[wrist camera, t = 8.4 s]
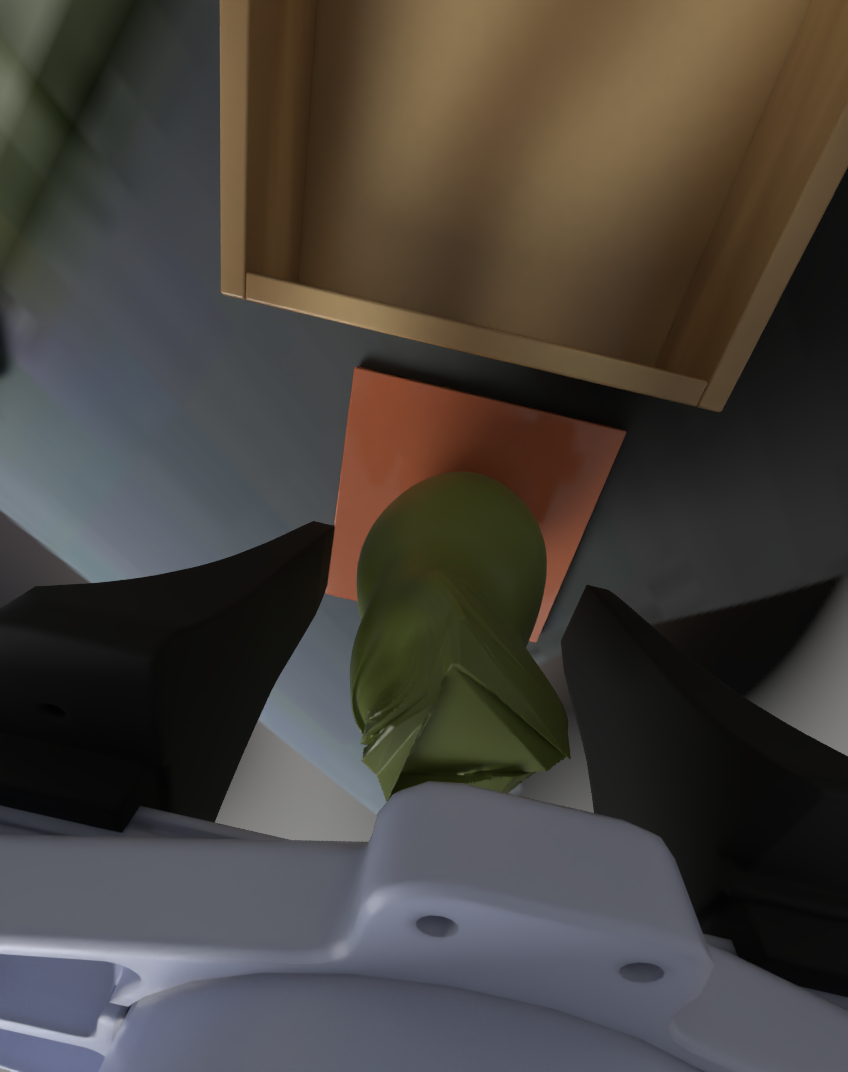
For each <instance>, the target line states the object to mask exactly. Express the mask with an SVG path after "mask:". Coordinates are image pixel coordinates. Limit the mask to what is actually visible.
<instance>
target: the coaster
mask: <svg viewBox="0 0 848 1072" xmlns="http://www.w3.org/2000/svg"><path fill="white" fill-rule="evenodd" d="M625 435H626V431H625V430H623V429H621V428H617V427H613V426H608V425H604V424H600V423H596V422H591V421H587V420H583V419H579V418H575V417H570V416H566V415H562V414H558V413H553V412H549V411H545V410H541V409H536V408H532V407H528V406H524V405H520V404H515V403H511V402H507V401H503V400H498V399H494V398H490V397H486V396H482V395H477V394H473V393H469V392H465V391H460V390H456V389H452V388H448V387H443V386H439V385H435V384H431V383H427V382H422V381H418V380H414V379H410V378H405V377H401V376H397V375H393V374H389V373H384V372H380V371H376V370H372V369H367V368H363V367H359V366H357V367H355V368H354V374H353V382H352V389H351V397H350V405H349V413H348V421H347V428H346V436H345V444H344V452H343V460H342V467H341V475H340V483H339V491H338V499H337V506H336V514H335V522H334V526H335V531H334V539H333V546H332V554H331V562H330V570H329V577H328V585H327V588H326V592H325V593H326V594H329V595H333V596H337V597H341V598H346V599H350V600H354V601H358V599H357V586H356V578H357V566H358V560H359V556H360V552H361V549H362V546H363V543H364V541H365V539H366V537H367V535H368V533H369V531H370V529H371V527H372V526H373V524H374V523H375V521H376V520H377V518H378V517H379V516H380V515H381V513H382V512H383V511H384V510H385V509H386V508H387V507H388V506H389V505H390V504H391V503H392V502H393V501H394V500H395V499H396V498H397V497H398V496H399V495H401V494H402V493H403V492H405V491H406V490H407V489H409V488H410V487H412V486H414V485H415V484H417V483H419V482H421V481H423V480H425V479H427V478H430V477H433V476H436V475H439V474H443V473H448V472H458V471H464V472H474V473H478V474H482V475H485V476H488V477H491V478H493V479H495V480H497V481H499V482H500V483H502V484H504V485H505V486H507V487H508V488H509V489H511V490H512V491H513V492H514V493H515V494H516V495H517V496H519V497H520V499H521V500H522V501H523V502H524V503H525V504H526V505H527V507H528V508H529V509H530V511H531V512H532V514H533V515H534V517H535V519H536V521H537V523H538V525H539V527H540V529H541V532H542V535H543V538H544V542H545V547H546V554H547V574H546V583H545V590H544V595H543V599H542V603H541V607H540V611H539V614H538V618H537V621H536V624H535V626H534V629H533V632H532V634H531V637H530V639H529V641H531V642H535V643H536V642H537V641H538V638H539V636H540V634H541V631H542V629H543V627H544V624H545V622H546V620H547V617H548V615H549V613H550V610H551V608H552V606H553V603H554V601H555V599H556V596H557V594H558V591H559V589H560V587H561V584H562V582H563V580H564V577H565V575H566V573H567V570H568V568H569V566H570V563H571V561H572V559H573V556H574V554H575V552H576V549H577V547H578V545H579V542H580V540H581V538H582V535H583V533H584V531H585V528H586V526H587V524H588V521H589V519H590V517H591V514H592V512H593V510H594V507H595V505H596V503H597V500H598V498H599V496H600V493H601V491H602V489H603V486H604V484H605V482H606V479H607V477H608V475H609V472H610V470H611V468H612V465H613V463H614V461H615V458H616V456H617V454H618V451H619V449H620V446H621V444H622V442H623V439H624V437H625Z"/></svg>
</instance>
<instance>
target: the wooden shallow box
mask: <svg viewBox="0 0 848 1072" xmlns="http://www.w3.org/2000/svg"><path fill="white" fill-rule="evenodd" d="M847 168H848V0H220V172H221V293H222V294H224V295H226V296H230V297H235V298H239V299H244V300H248V301H251V302H256V303H260V304H264V305H268V306H273V307H277V308H281V309H285V310H289V311H294V312H298V313H302V314H306V315H311V316H315V317H319V318H323V319H327V320H332V321H336V322H340V323H344V324H348V325H353V326H357V327H361V328H365V329H370V330H374V331H378V332H382V333H386V334H391V335H395V336H399V337H403V338H407V339H412V340H416V341H420V342H424V343H429V344H433V345H437V346H441V347H445V348H450V349H454V350H458V351H462V352H466V353H471V354H475V355H479V356H483V357H488V358H492V359H496V360H500V361H504V362H509V363H513V364H517V365H521V366H526V367H530V368H534V369H538V370H542V371H547V372H551V373H555V374H559V375H563V376H568V377H572V378H576V379H580V380H585V381H589V382H593V383H597V384H601V385H606V386H610V387H614V388H618V389H622V390H627V391H631V392H635V393H639V394H644V395H648V396H652V397H656V398H660V399H665V400H669V401H673V402H677V403H681V404H686V405H690V406H696V407H699V408H703V409H707V410H711V411H715V412H721V411H722V409H723V407H724V406H725V404H726V402H727V400H728V398H729V396H730V394H731V392H732V390H733V388H734V386H735V384H736V382H737V380H738V378H739V377H740V375H741V373H742V371H743V369H744V367H745V365H746V363H747V361H748V359H749V357H750V355H751V353H752V351H753V349H754V348H755V346H756V344H757V342H758V340H759V338H760V336H761V334H762V332H763V330H764V328H765V326H766V324H767V322H768V320H769V319H770V317H771V315H772V313H773V311H774V309H775V307H776V305H777V303H778V301H779V299H780V297H781V295H782V293H783V291H784V290H785V288H786V286H787V284H788V282H789V280H790V278H791V276H792V274H793V272H794V270H795V268H796V266H797V264H798V262H799V261H800V259H801V257H802V255H803V253H804V251H805V249H806V247H807V245H808V243H809V241H810V239H811V237H812V235H813V233H814V232H815V230H816V228H817V226H818V224H819V222H820V220H821V218H822V216H823V214H824V212H825V210H826V208H827V206H828V204H829V203H830V201H831V199H832V197H833V195H834V193H835V191H836V189H837V187H838V185H839V183H840V181H841V179H842V177H843V175H844V174H845V172H846V170H847Z"/></svg>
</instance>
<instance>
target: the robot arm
mask: <svg viewBox="0 0 848 1072" xmlns="http://www.w3.org/2000/svg"><path fill="white" fill-rule="evenodd" d="M334 531H335V526H332V525H328V524H323V523H319V522H315V521H313V522H311V523H308V524H306V525H304V526H301V527H299V528H297V529H295V530H293V531H291V532H289V533H287V534H285V535H282V536H280V537H278V538H276V539H274V540H271V541H269V542H267V543H265V544H262V545H260V546H257V547H255V548H252V549H249V550H247V551H244V552H242V553H239V554H237V555H234V556H231V557H228V558H225V559H222V560H219V561H215V562H212V563H208V564H205V565H201V566H197V567H193V568H189V569H184V570H179V571H174V572H169V573H165V574H160V575H155V576H148V577H142V578H135V579H127V580H119V581H111V582H100V583H88V584H71V585H55V586H36V587H34V588H32V589H31V590H29V591H27V592H26V593H24V594H23V595H21V596H19V597H18V598H16V599H14V600H13V601H11V602H9V603H8V604H7V605H5V606H3V607H1V608H0V1068H1V1069H5V1070H8V1071H11V1072H848V756H846V755H844V754H842V753H840V752H838V751H836V750H834V749H832V748H831V747H829V746H827V745H825V744H823V743H821V742H819V741H817V740H816V739H814V738H812V737H810V736H808V735H806V734H804V733H803V732H801V731H799V730H797V729H796V728H794V727H792V726H790V725H788V724H787V723H785V722H783V721H782V720H780V719H778V718H777V717H775V716H773V715H772V714H770V713H768V712H767V711H765V710H763V709H762V708H760V707H758V706H757V705H755V704H754V703H752V702H751V701H749V700H748V699H746V698H744V697H742V696H741V695H739V694H738V693H737V692H735V691H734V690H732V689H731V688H730V687H728V686H726V685H725V684H724V683H722V682H721V681H720V680H718V679H717V678H715V677H714V676H712V675H711V674H710V673H708V672H707V671H706V670H704V669H703V668H702V667H700V666H699V665H698V664H696V663H695V662H694V661H693V660H691V659H690V658H689V657H688V656H686V655H685V654H684V653H683V652H681V651H680V650H679V649H678V648H676V647H675V646H674V645H673V644H672V643H670V642H669V641H668V640H667V639H666V638H665V637H663V636H662V635H661V634H660V633H659V632H658V631H657V630H655V629H654V628H653V627H652V626H651V625H650V624H649V623H647V622H646V621H645V620H644V619H643V618H642V617H641V616H640V615H638V614H637V613H636V612H635V611H634V610H633V609H632V608H630V607H629V606H628V605H627V604H626V603H625V602H623V601H622V600H621V599H620V598H619V597H617V596H616V595H615V594H613V593H612V592H610V591H609V590H606V589H602V588H598V587H594V586H589V585H586V588H585V590H584V592H583V594H582V596H581V598H580V601H579V603H578V605H577V607H576V609H575V612H574V614H573V616H572V618H571V620H570V622H569V625H568V627H567V629H566V631H565V633H564V635H563V638H562V640H561V646H562V658H563V666H564V673H565V677H566V682H567V685H568V689H569V693H570V697H571V701H572V705H573V708H574V712H575V716H576V720H577V724H578V727H579V731H580V735H581V739H582V742H583V746H584V751H585V756H586V760H587V766H588V773H589V779H590V786H591V793H592V799H593V807H594V813H591V812H587V811H582V810H577V809H573V808H569V807H565V806H560V805H556V804H552V803H547V802H543V801H538V800H534V799H530V798H525V797H521V796H517V795H512V794H508V793H504V792H499V791H495V790H491V789H486V788H482V787H477V786H473V785H469V784H464V783H450V782H432V781H428V782H425V783H422V784H419V785H416V786H413V787H410V788H407V789H403V790H400V791H398V792H397V793H395V794H393V795H392V797H391V798H390V799H389V800H388V802H387V803H386V804H385V805H384V806H383V808H382V809H381V810H380V811H379V813H378V815H377V819H376V822H375V826H374V830H373V833H372V837H371V838H370V840H369V842H349V841H348V842H346V841H301V840H300V841H299V840H288V839H284V838H279V837H275V836H271V835H267V834H262V833H258V832H253V831H249V830H245V829H240V828H236V827H231V826H227V825H223V824H218V823H214V822H215V820H216V817H217V815H218V812H219V810H220V807H221V805H222V802H223V800H224V798H225V795H226V793H227V790H228V788H229V786H230V783H231V781H232V779H233V776H234V774H235V771H236V769H237V767H238V764H239V762H240V760H241V757H242V755H243V753H244V750H245V748H246V746H247V744H248V741H249V739H250V737H251V734H252V732H253V730H254V727H255V725H256V723H257V721H258V719H259V717H260V714H261V712H262V710H263V708H264V706H265V703H266V701H267V699H268V697H269V695H270V693H271V690H272V688H273V687H274V685H275V683H276V681H277V679H278V677H279V675H280V674H281V672H282V670H283V669H284V667H285V665H286V664H287V662H288V660H289V659H290V657H291V655H292V654H293V652H294V650H295V649H296V647H297V645H298V644H299V642H300V640H301V639H302V637H303V635H304V634H305V632H306V630H307V628H308V627H309V625H310V623H311V622H312V620H313V618H314V616H315V615H316V612H317V610H318V608H319V605H320V603H321V601H322V598H323V596H324V593H325V591H326V588H327V585H328V577H329V570H330V562H331V554H332V546H333V539H334Z"/></svg>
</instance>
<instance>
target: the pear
mask: <svg viewBox="0 0 848 1072" xmlns="http://www.w3.org/2000/svg"><path fill="white" fill-rule="evenodd" d="M546 574H547V554H546V547H545V542H544V538H543V535H542V532H541V529H540V527H539V525H538V523H537V521H536V519H535V517H534V515H533V514H532V512H531V511H530V509H529V508H528V507H527V505H526V504H525V503H524V502H523V501H522V500H521V499H520V497H519V496H517V495H516V494H515V493H514V492H513V491H512V490H511V489H509V488H508V487H507V486H505V485H504V484H502V483H500V482H499V481H497V480H495V479H493V478H491V477H488V476H485V475H482V474H478V473H474V472H464V471H458V472H448V473H443V474H439V475H436V476H433V477H430V478H427V479H425V480H423V481H421V482H419V483H417V484H415V485H414V486H412V487H410V488H409V489H407V490H406V491H405V492H403V493H402V494H401V495H399V496H398V497H397V498H396V499H395V500H394V501H393V502H392V503H391V504H390V505H389V506H388V507H387V508H386V509H385V510H384V511H383V512H382V513H381V515H380V516H379V517H378V518H377V520H376V521H375V523H374V524H373V526H372V527H371V529H370V531H369V533H368V535H367V537H366V539H365V541H364V543H363V546H362V549H361V552H360V556H359V560H358V566H357V578H356V586H357V599H358V606H359V612H360V616H361V623H360V626H359V629H358V632H357V635H356V638H355V642H354V645H353V650H352V655H351V663H350V691H351V706H352V712H353V716H354V719H355V721H356V724H357V726H358V728H359V729H360V731H361V733H362V734H363V736H362V740H361V744H364V745H368V746H367V747H365V748H364V752H363V758H362V762H363V763H364V764H365V765H366V766H367V767H368V768H369V769H371V770H372V771H373V772H374V773H375V774H377V777H378V779H379V782H380V785H381V788H382V790H383V793H384V796H385V798H386V801H387V802H388V800H389V799H390V798H391V797H392V795H393V794H395V793H397V792H398V791H400V790H403V789H407V788H410V787H413V786H416V785H419V784H422V783H425V782H428V781H432V782H450V783H464V784H469V785H473V786H477V787H482V788H486V789H491V790H495V791H499V792H504V793H509V792H510V791H511V790H512V789H514V788H515V787H516V786H517V785H518V784H520V783H522V781H523V780H525V779H527V778H528V777H530V776H531V775H532V774H534V773H536V772H537V771H548V770H549V769H551V768H552V766H554V765H556V763H558V762H560V760H564V758H565V757H568V758H569V759H571V757H570V748H569V740H568V719H567V715H566V712H565V709H564V706H563V704H562V702H561V701H560V699H559V697H558V695H557V694H556V692H555V690H554V689H553V687H552V686H551V684H550V682H549V681H548V679H547V678H546V677H545V675H544V674H543V672H542V671H541V669H540V668H539V666H538V665H537V664H536V662H535V661H534V659H533V658H532V656H531V655H530V654H529V652H528V650H527V649H526V646H527V644H528V641H529V639H530V637H531V634H532V632H533V629H534V626H535V624H536V621H537V618H538V614H539V611H540V607H541V603H542V599H543V595H544V590H545V583H546Z"/></svg>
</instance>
